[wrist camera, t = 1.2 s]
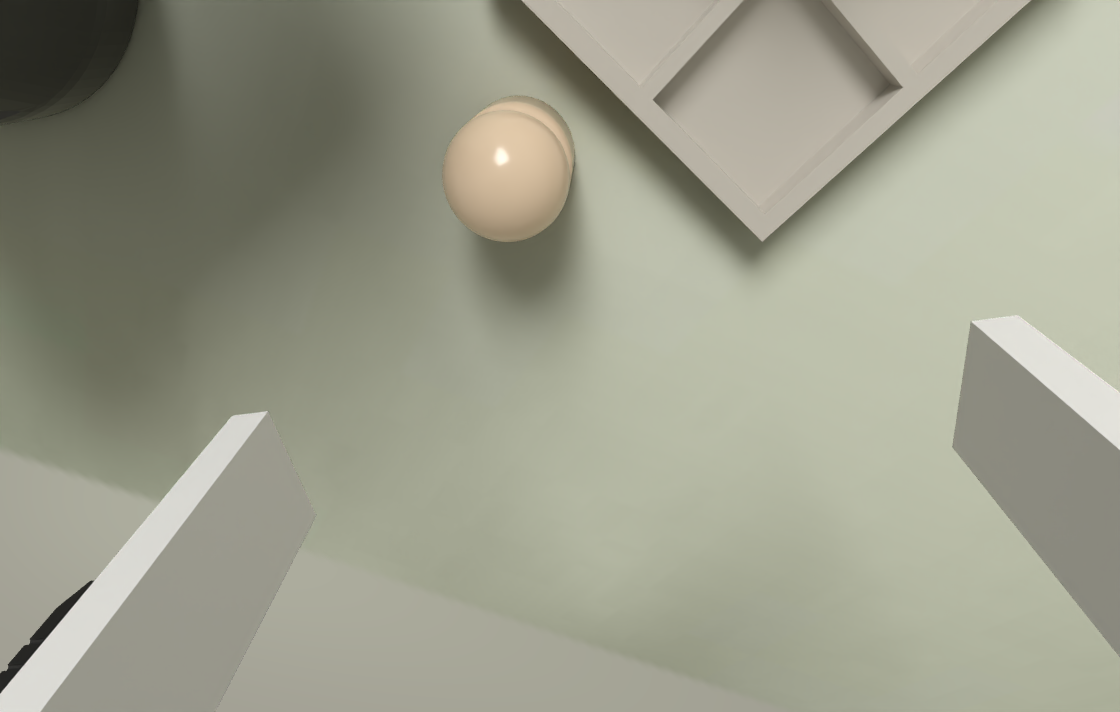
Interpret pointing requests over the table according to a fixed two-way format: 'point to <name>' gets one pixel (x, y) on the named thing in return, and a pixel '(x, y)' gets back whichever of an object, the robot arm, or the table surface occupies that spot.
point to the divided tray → (771, 80)
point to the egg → (509, 169)
